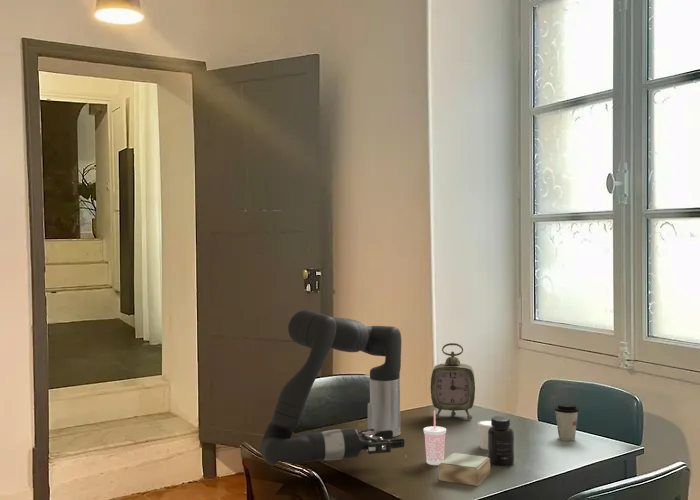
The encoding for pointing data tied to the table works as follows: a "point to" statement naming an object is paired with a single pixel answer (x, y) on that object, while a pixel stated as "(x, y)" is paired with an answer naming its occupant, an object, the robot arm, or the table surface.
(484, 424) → the white cup
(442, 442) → the beverage cup
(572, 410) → the coffee cup
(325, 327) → the robot arm
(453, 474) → the small box
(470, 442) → the table surface
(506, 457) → the supplement bottle
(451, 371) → the tabletop clock
